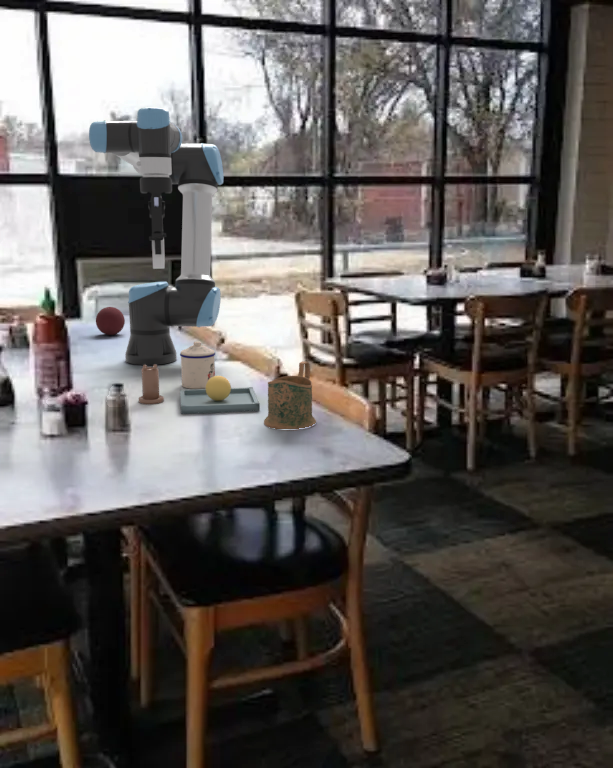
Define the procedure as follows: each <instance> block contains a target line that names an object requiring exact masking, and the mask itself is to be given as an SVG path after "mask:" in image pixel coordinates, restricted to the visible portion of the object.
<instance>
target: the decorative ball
mask: <svg viewBox="0 0 613 768" xmlns="http://www.w3.org/2000/svg"><path fill="white" fill-rule="evenodd" d="M125 319H126V318H125V316H124V314H123V313H122V311H121V310H120V309H118V308H117V307H113V306H107V307H103V308H102V309H101V310H99V311H98V313H97V314H96V316H95V324H96V327H97V329H98V331H100V333H102V334H104V335H107V336H115V335H117V334H119V333H120V332H122V331H123V329H124V326H125V324H126V320H125Z"/></svg>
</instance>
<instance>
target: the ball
mask: <svg viewBox="0 0 613 768" xmlns="http://www.w3.org/2000/svg"><path fill="white" fill-rule="evenodd" d="M231 388H232V387H231V383H230V381H229V379H227V378H226V377H224V376H222V375H215V376H214V377H212V378H210V379H209V380H208V382H207V384H206V388H205V389H206V393H207V395H208V396H209V397H210V398H211V399H213V400H215V401H221V400H224V399H226V398H227V397H228V396H229V394H230V391H231Z"/></svg>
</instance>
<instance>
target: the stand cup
mask: <svg viewBox="0 0 613 768" xmlns="http://www.w3.org/2000/svg"><path fill="white" fill-rule="evenodd" d="M140 370H141V388H142V396H139V397H138V403H140V404H141V405H142V404H143V405H157V404H161V403H163V402H164V401H165V397H164V396H163V395H160V377H159V376H160V375H159V371H160V370H159V367H158V365H156V364H154V365H152V366H148V365H142V368H141V369H140Z"/></svg>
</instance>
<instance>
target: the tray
mask: <svg viewBox="0 0 613 768" xmlns="http://www.w3.org/2000/svg"><path fill="white" fill-rule="evenodd" d="M179 392H180V393H179V394H180V396H179V397H180V413H181V415H192V414H193V415H194V414H195V415H197V414H216V413H221V414H222V413H241V412H242V413H243V412H260V411H261V410H260V409H261V408H260V407H261V406H260V405H261V403H260V402H259V401H260V400H259V398H258V396H257V395H256V392H255V390H254V387H253V386H250V387H249V386H247V387H231V391H230V394H229V396H228V397H227V398H226V399H224V400H221V401H215V400H213V399H211V398H210V397H209V396H208V395H207V393H206V388H205V389H179Z"/></svg>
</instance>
